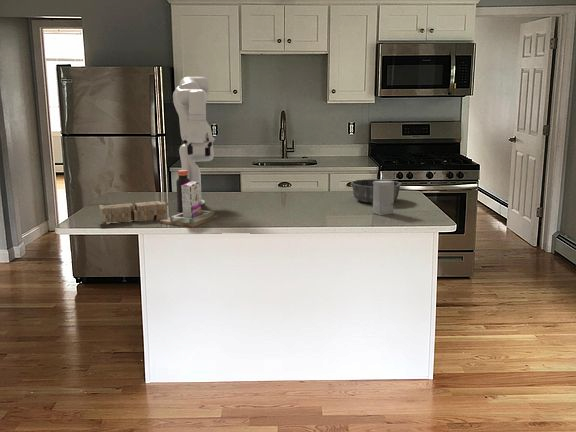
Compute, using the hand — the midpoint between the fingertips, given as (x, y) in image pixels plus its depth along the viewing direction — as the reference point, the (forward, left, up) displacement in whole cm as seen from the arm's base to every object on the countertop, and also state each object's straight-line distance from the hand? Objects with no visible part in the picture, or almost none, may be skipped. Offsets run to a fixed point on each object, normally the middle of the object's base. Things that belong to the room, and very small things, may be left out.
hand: (198, 155), depth 289 cm
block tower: (-25, -18, -30) cm, 43 cm away
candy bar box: (0, -8, -29) cm, 30 cm away
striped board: (-1, -8, -30) cm, 31 cm away
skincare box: (+76, +44, -30) cm, 92 cm away
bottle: (-16, +10, -30) cm, 35 cm away
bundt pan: (+63, +73, -30) cm, 101 cm away
